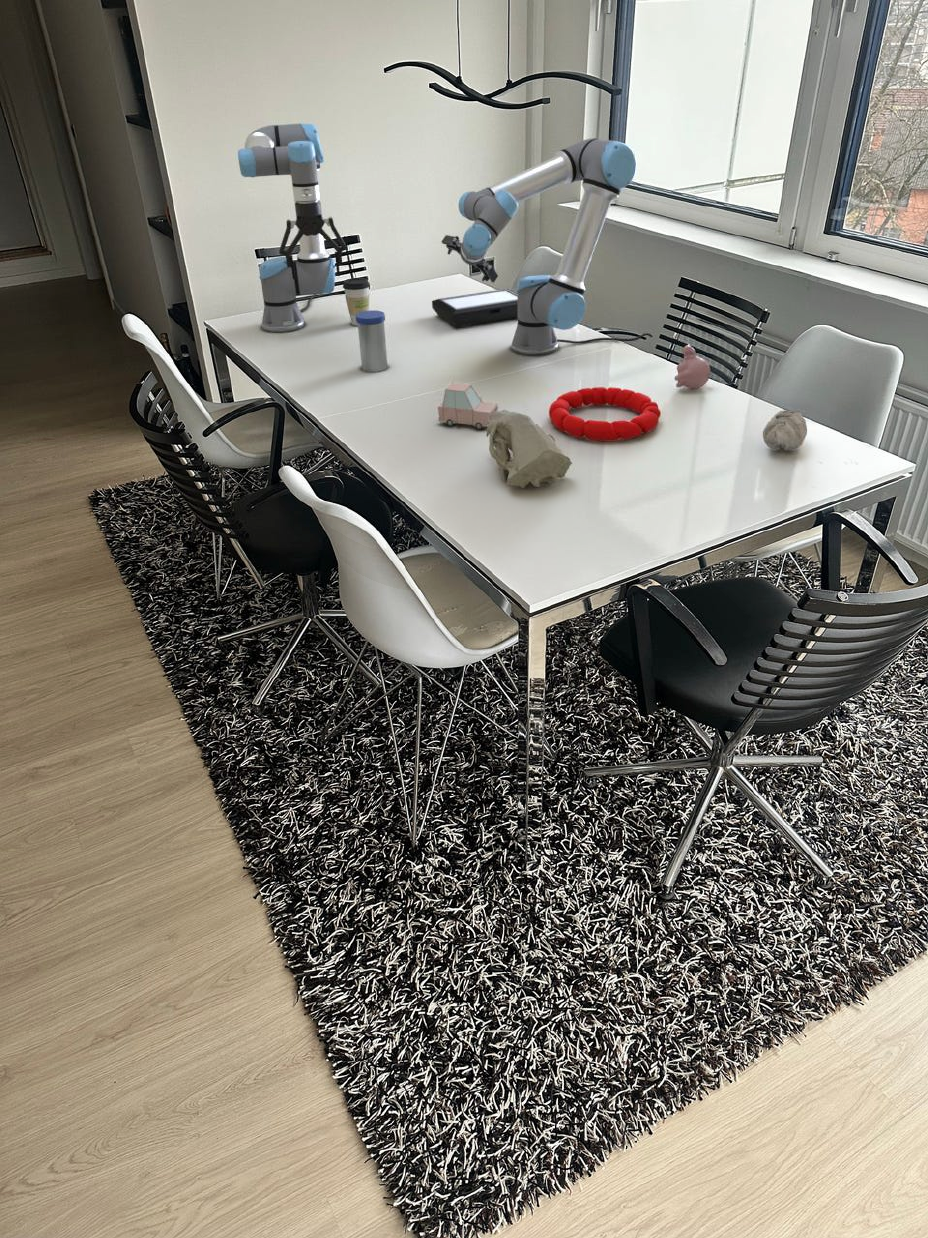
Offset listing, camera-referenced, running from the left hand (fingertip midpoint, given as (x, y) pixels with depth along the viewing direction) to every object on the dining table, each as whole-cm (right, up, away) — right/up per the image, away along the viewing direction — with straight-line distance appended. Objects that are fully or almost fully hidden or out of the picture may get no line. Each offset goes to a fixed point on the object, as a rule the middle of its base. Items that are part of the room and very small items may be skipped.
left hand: (316, 276), depth 273 cm
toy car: (+47, -51, -27) cm, 74 cm away
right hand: (+47, +9, +12) cm, 49 cm away
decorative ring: (+84, -51, -29) cm, 102 cm away
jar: (+17, -24, +14) cm, 32 cm away
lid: (+16, -10, +4) cm, 20 cm away
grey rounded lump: (+126, -62, -47) cm, 148 cm away
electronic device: (+52, +7, +57) cm, 78 cm away
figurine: (+112, -37, -10) cm, 118 cm away
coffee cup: (+7, +4, +54) cm, 55 cm away
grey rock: (+59, -68, -53) cm, 105 cm away
